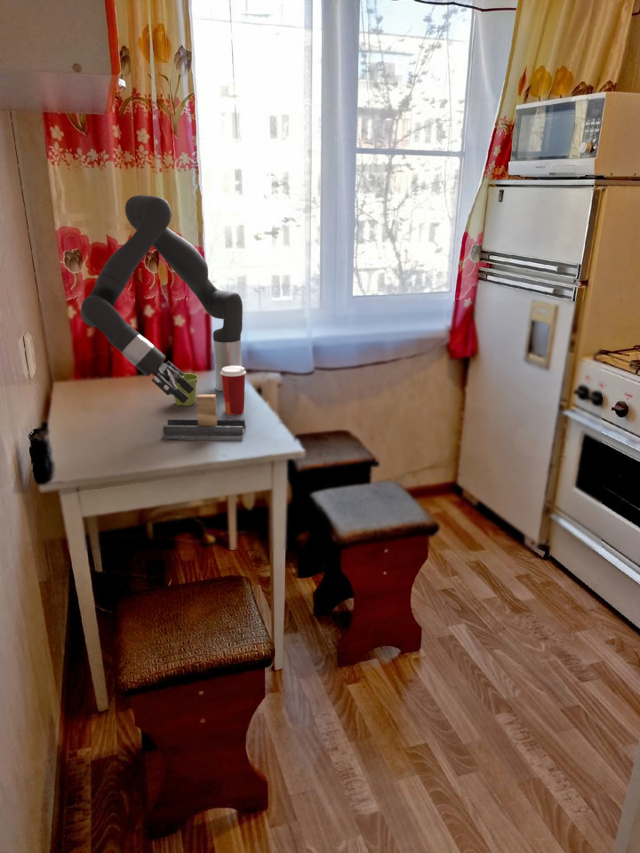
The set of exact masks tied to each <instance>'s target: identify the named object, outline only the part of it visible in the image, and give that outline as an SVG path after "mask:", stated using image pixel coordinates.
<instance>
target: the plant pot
mask: <svg viewBox="0 0 640 853" xmlns="http://www.w3.org/2000/svg"><path fill="white" fill-rule="evenodd" d="M183 373H184V372H183ZM184 377H185V380H186V381H187V382H189V383H190V384H191V385H192V386H193V387H194V390H193V391H192V392H191V393H187V392H186V391H185V390H184V389H183V388H182V387H181V386H180V384H177V383H175V384H176V386H177V387H178V389H180V390H181V391H182V392H183V393H184V394H185V395H187V396H188V400H187V401H186V402H185V403H182V402H180V401H179V400H178V399H177V398H176V397H175V396H174V395H173V397H174V402H175V404H176V405H177V406H183V407H187V406H191V405H193V404H194V403H196V391H197V383H198V379H199V376H198V375H197V374H194V373H190V372H189V373H187V372H185V373H184ZM178 389H177V390H178Z"/></svg>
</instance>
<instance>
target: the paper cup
mask: <svg viewBox="0 0 640 853" xmlns="http://www.w3.org/2000/svg"><path fill="white" fill-rule="evenodd" d="M220 373H221V375H222V383H223V392H222V393H223V398H224V399H223V400H224V408H225V413H226V415H229V416H239V415H242V414H244V413H245V394H246V393H245V391H246V389H245V388H246V387H245V385H246V382H245V381H246V374H247V371H246V369H245V367H243V366H242V367H241V366H226V367H224V368H222V370H221V372H220ZM243 412H244V413H243Z"/></svg>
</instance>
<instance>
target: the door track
mask: <svg viewBox="0 0 640 853" xmlns="http://www.w3.org/2000/svg"><path fill="white" fill-rule="evenodd" d="M166 420H167V425H164V424H163V426H162V435H161V440H162V439H179V440H178V441H243V439H244V435H245V432H246V429H247V423H246V418H240V419H238V418H217V426H198V418H167V419H166ZM183 439H184V440H183Z"/></svg>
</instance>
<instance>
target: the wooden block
mask: <svg viewBox="0 0 640 853" xmlns="http://www.w3.org/2000/svg"><path fill="white" fill-rule="evenodd" d="M195 401H196V411H197V413H196V414H197V419H198V426H217V419H218V413H217V411H218V410H217V396H216V394H197V395H196V396H195Z"/></svg>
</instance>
